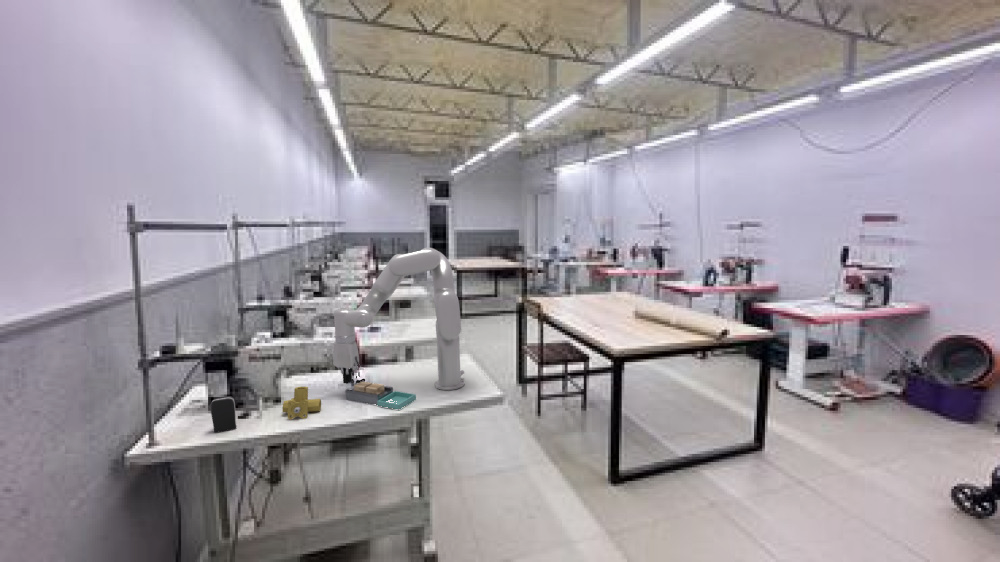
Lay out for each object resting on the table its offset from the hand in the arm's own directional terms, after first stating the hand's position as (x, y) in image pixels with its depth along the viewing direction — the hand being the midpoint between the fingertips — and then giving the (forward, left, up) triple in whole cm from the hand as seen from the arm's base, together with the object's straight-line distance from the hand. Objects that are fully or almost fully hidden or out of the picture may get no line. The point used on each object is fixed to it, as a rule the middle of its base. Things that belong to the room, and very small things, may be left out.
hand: (347, 382), depth 181 cm
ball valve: (+21, -3, -6) cm, 22 cm away
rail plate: (0, +11, -5) cm, 12 cm away
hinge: (-18, -12, -6) cm, 22 cm away
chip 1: (0, +8, -2) cm, 8 cm away
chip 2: (0, +14, -2) cm, 14 cm away
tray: (0, +24, -5) cm, 25 cm away
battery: (+40, -18, -6) cm, 44 cm away
